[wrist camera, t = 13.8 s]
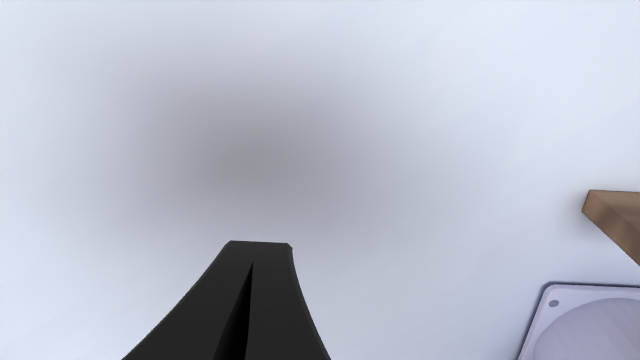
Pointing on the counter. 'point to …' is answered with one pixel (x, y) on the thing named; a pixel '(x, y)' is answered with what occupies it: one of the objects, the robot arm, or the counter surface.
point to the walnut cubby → (617, 218)
